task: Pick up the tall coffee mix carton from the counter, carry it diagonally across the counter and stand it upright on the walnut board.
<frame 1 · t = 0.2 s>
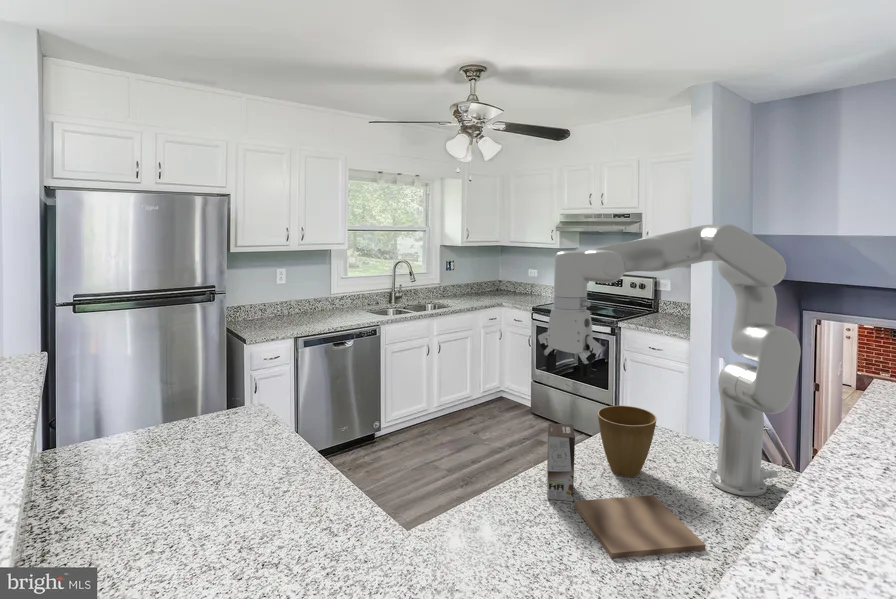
hand: (567, 374, 120), 31 cm above the countertop, tool pointing down, fingers open, 9 cm apart
plant pot: (624, 472, 137), on the countertop
walnut board: (634, 526, 111), on the countertop
coffee box: (559, 492, 126), on the countertop
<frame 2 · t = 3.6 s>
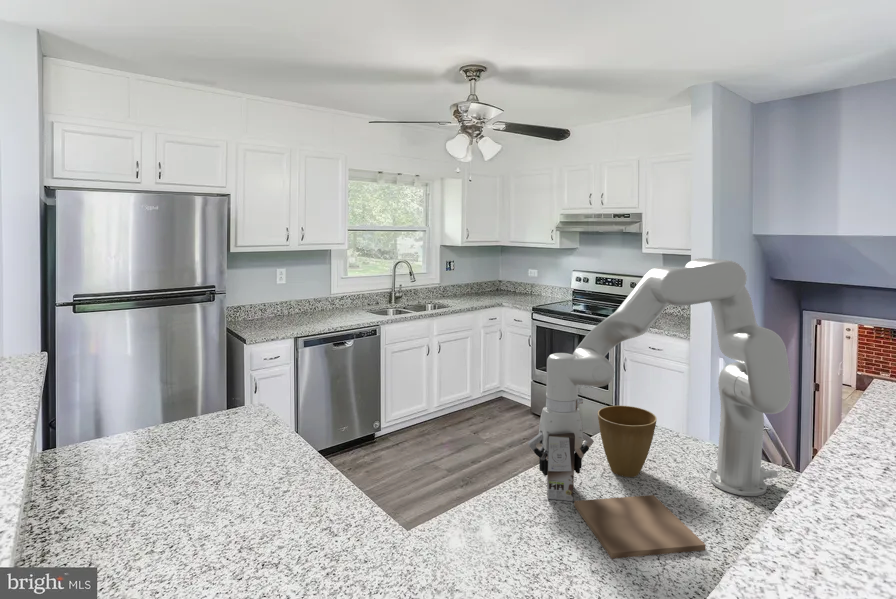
hand: (560, 471, 126), 5 cm above the countertop, tool pointing down, fingers closed on coffee box, 7 cm apart
coffee box: (559, 492, 126), on the countertop, touching gripper
everything else where it was.
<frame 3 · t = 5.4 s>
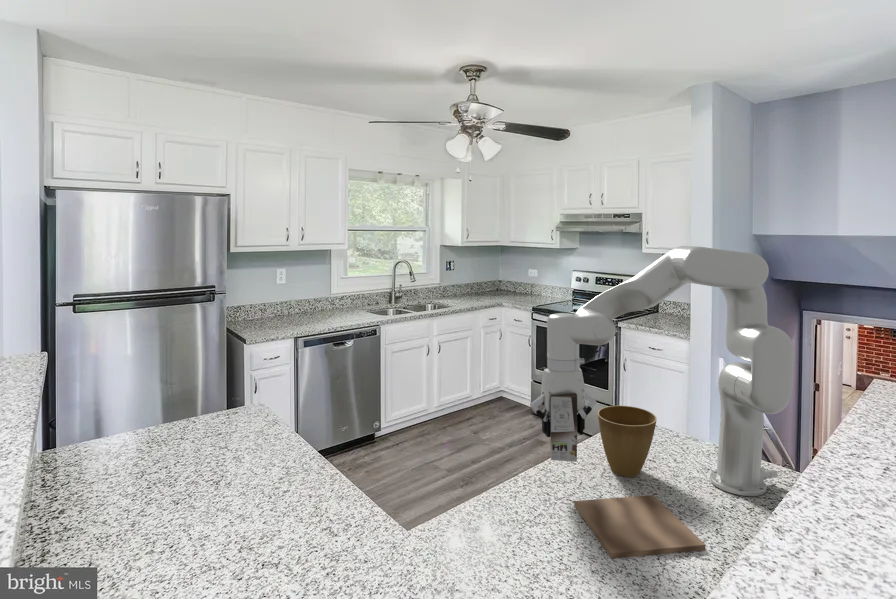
hand: (563, 433, 124), 15 cm above the countertop, tool pointing down, fingers closed on coffee box, 7 cm apart
coffee box: (563, 454, 125), point 10 cm above the countertop, touching gripper
everything else where it was.
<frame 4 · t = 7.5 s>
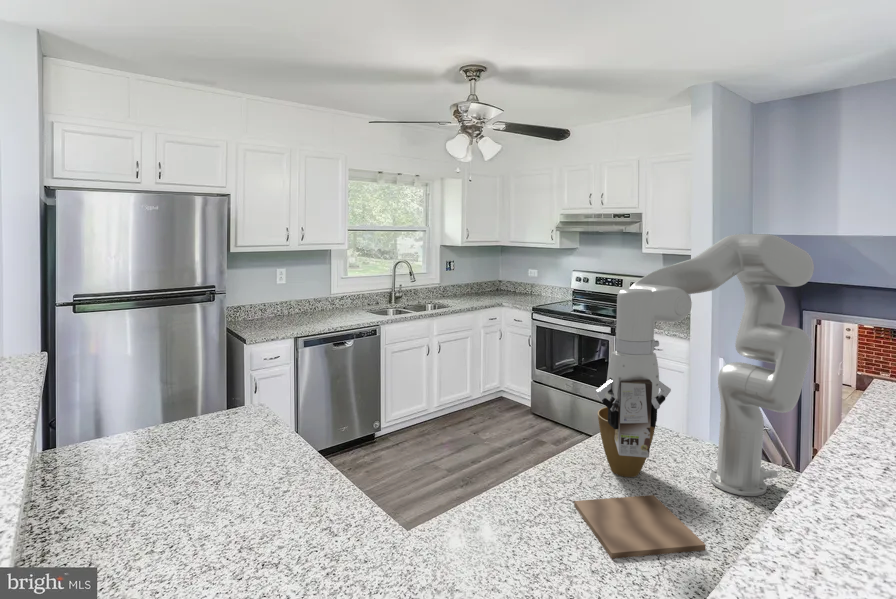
hand: (632, 425, 109), 23 cm above the countertop, tool pointing down, fingers closed on coffee box, 7 cm apart
coffee box: (631, 449, 110), point 17 cm above the countertop, touching gripper
everything else where it was.
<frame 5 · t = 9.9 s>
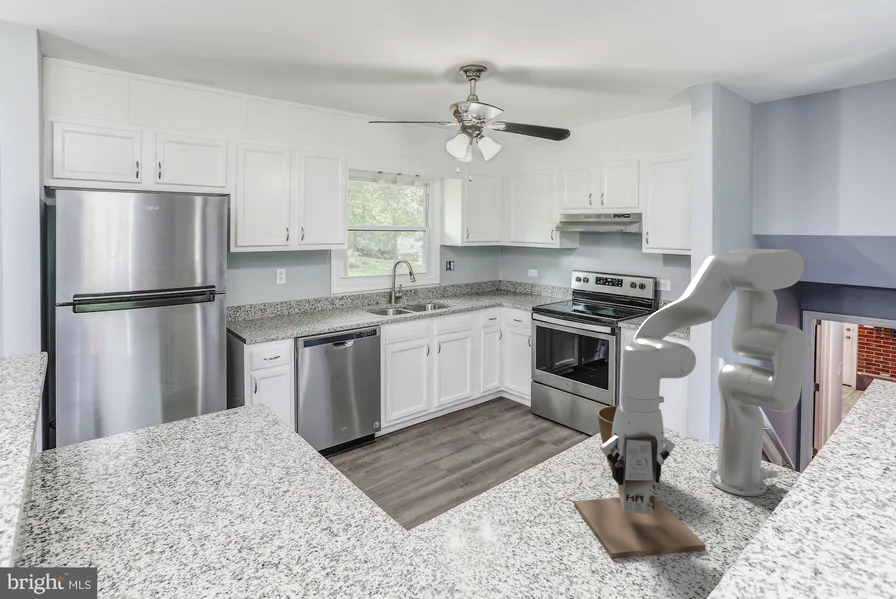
hand: (636, 480, 109), 11 cm above the countertop, tool pointing down, fingers closed on coffee box, 7 cm apart
coffee box: (635, 503, 110), point 5 cm above the countertop, touching gripper
everything else where it was.
when the fingers open (8 cm above the countertop, at t = 11.6 s): coffee box drops 1 cm, resting on walnut board.
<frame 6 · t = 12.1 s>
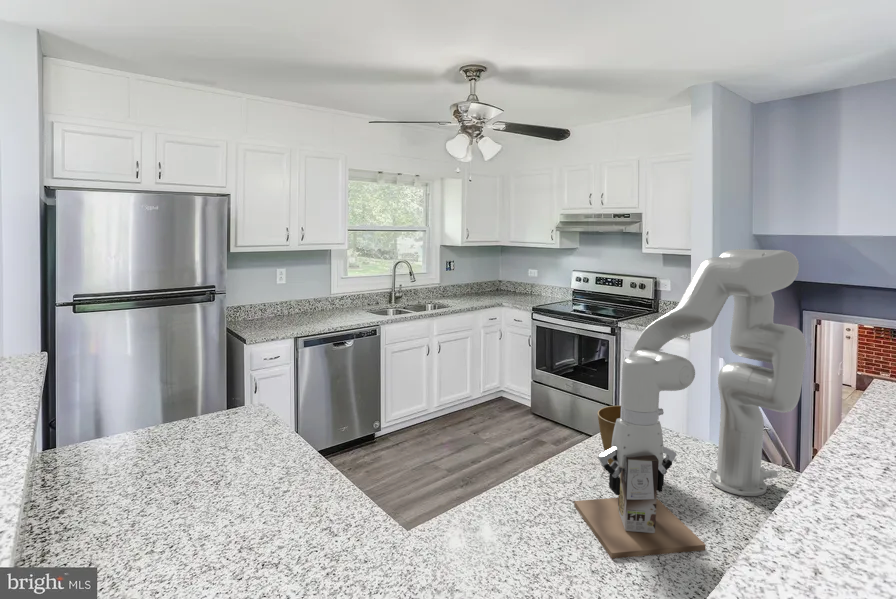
hand: (636, 490, 110), 8 cm above the countertop, tool pointing down, fingers open, 9 cm apart
coffee box: (635, 521, 111), point 1 cm above the countertop, touching walnut board
everything else where it was.
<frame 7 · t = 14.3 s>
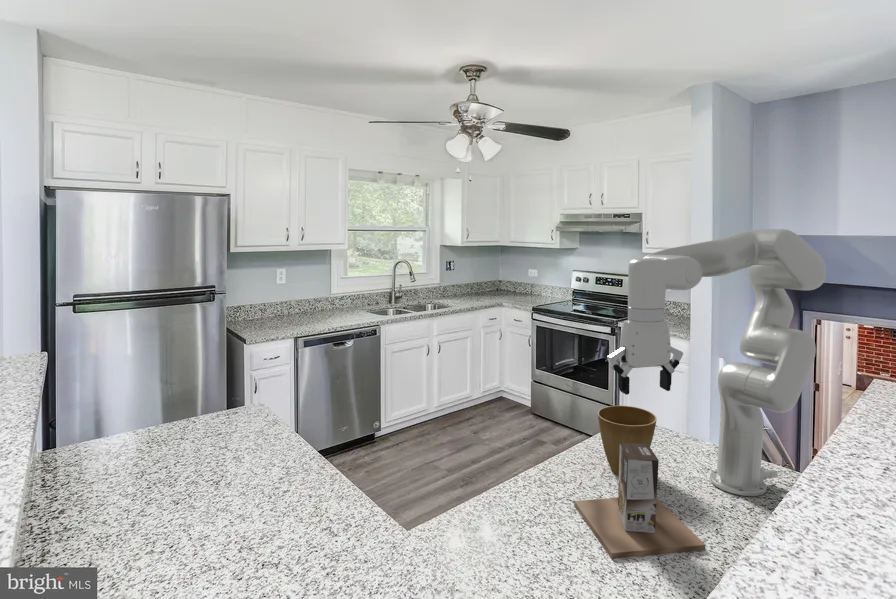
hand: (644, 390, 112), 29 cm above the countertop, tool pointing down, fingers open, 9 cm apart
nothing on the countertop moved.
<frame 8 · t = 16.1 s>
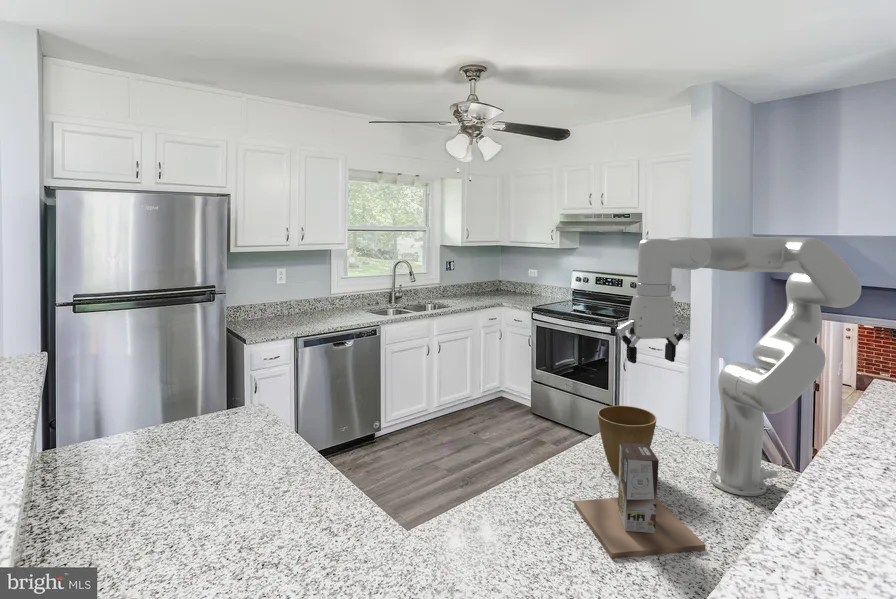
hand: (650, 361, 122), 33 cm above the countertop, tool pointing down, fingers open, 9 cm apart
nothing on the countertop moved.
at the end: coffee box inside the target area on the walnut board (0.3 cm from its centre), point 1.0 cm above the walnut board's base; coffee box tilted 0°; the gripper is holding nothing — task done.
